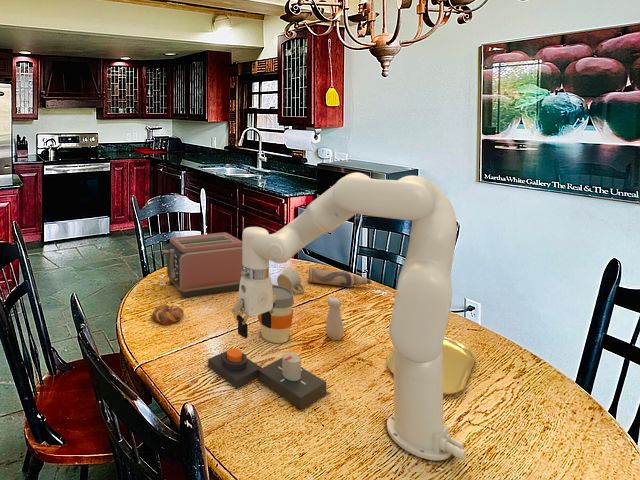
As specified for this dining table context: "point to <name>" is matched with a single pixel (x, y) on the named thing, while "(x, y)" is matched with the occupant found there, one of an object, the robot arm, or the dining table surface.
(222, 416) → the dining table surface
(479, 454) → the dining table surface
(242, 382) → the block
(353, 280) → the decorative bottle
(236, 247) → the toaster
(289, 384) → the fryer panel
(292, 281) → the ceramic mug
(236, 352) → the button
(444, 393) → the serving platter
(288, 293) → the reusable coffee cup
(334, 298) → the salt shaker
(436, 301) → the robot arm
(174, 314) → the braided bread roll
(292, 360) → the timer knob
